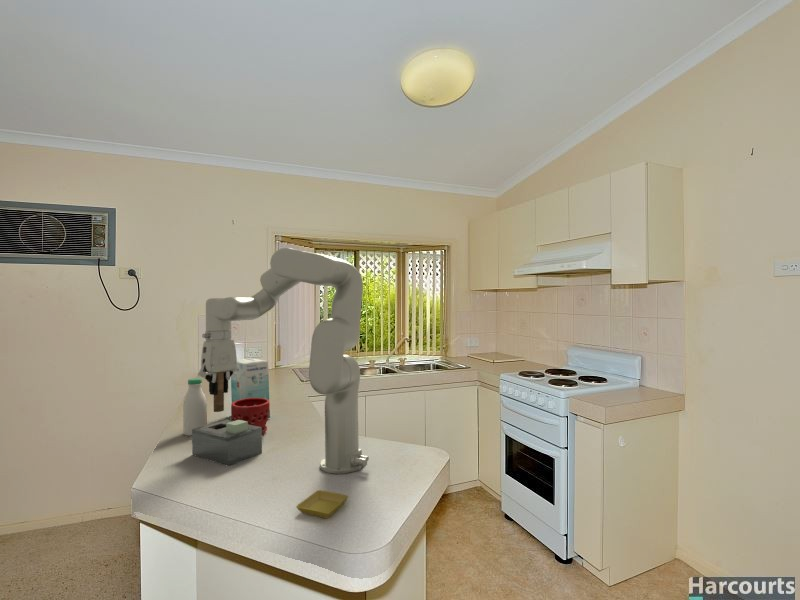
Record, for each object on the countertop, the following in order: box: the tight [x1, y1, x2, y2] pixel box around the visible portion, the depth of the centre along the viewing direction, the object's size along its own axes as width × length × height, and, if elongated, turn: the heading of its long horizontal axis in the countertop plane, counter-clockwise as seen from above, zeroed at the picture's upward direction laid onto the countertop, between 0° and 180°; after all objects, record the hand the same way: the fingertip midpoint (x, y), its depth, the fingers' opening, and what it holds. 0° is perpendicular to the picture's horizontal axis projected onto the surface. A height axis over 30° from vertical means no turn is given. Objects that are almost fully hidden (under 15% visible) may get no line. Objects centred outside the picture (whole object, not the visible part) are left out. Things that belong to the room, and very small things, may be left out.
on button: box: [226, 420, 248, 434], centre depth 121 cm, size 4×4×5 cm
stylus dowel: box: [213, 372, 225, 413], centre depth 126 cm, size 3×3×14 cm
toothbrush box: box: [230, 357, 271, 419], centre depth 166 cm, size 18×10×24 cm, turn 41°
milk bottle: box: [182, 377, 208, 437], centre depth 146 cm, size 8×8×20 cm
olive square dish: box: [296, 489, 349, 519], centre depth 88 cm, size 9×9×2 cm
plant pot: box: [230, 398, 271, 435], centre depth 143 cm, size 13×13×12 cm
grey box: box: [191, 419, 263, 467], centre depth 123 cm, size 18×12×8 cm, turn 58°
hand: (218, 392), depth 126 cm, fingers closed on stylus dowel, 3 cm apart
